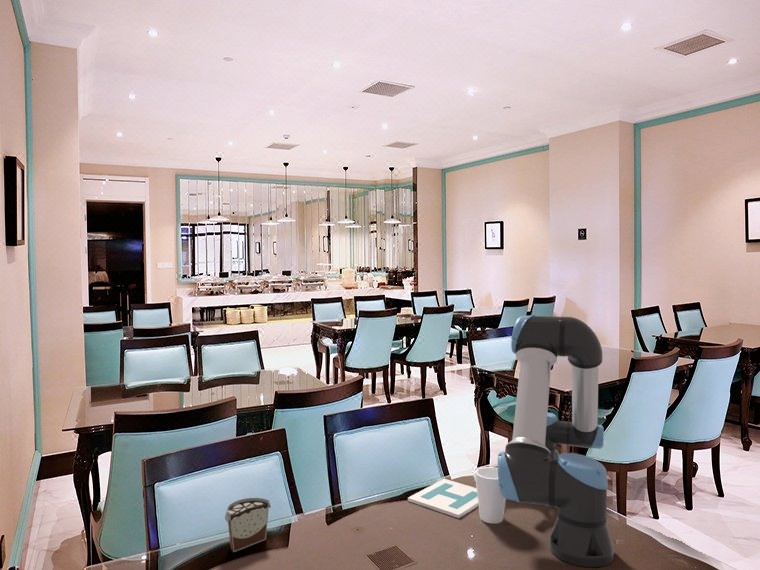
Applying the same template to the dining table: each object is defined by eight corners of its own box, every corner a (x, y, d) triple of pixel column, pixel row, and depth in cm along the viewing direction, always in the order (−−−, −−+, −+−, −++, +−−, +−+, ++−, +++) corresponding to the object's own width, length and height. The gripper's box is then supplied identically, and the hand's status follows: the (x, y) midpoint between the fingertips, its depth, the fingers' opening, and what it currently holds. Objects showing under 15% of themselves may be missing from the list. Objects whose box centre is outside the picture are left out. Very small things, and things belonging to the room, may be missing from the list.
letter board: (492, 496, 173) (493, 492, 173) (458, 518, 157) (458, 514, 157) (444, 481, 184) (444, 478, 184) (407, 500, 169) (407, 497, 169)
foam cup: (511, 526, 153) (512, 479, 152) (477, 525, 153) (478, 479, 152) (504, 511, 162) (504, 467, 162) (472, 510, 162) (472, 466, 162)
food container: (258, 529, 150) (258, 492, 149) (270, 537, 145) (270, 499, 145) (215, 545, 141) (215, 506, 141) (228, 554, 137) (228, 514, 136)
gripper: (569, 490, 170) (540, 513, 154) (495, 470, 186) (462, 490, 170) (569, 466, 170) (540, 486, 153) (496, 448, 186) (462, 465, 169)
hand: (499, 488), depth 161 cm, fingers open, 13 cm apart
